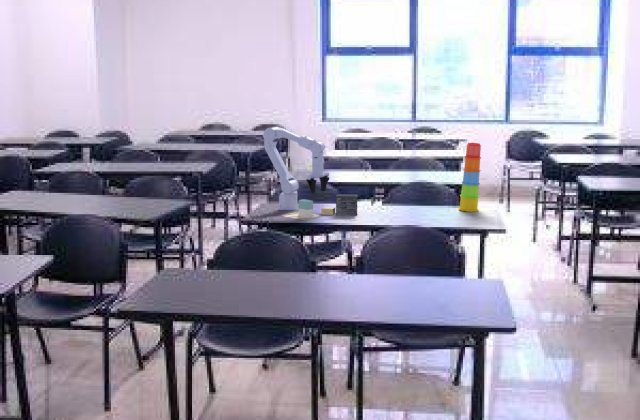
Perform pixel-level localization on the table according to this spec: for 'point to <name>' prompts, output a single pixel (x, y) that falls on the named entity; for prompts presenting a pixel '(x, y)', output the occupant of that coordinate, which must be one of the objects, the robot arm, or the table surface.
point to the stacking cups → (471, 179)
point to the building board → (296, 216)
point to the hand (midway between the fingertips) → (318, 191)
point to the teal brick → (305, 204)
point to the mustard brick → (328, 211)
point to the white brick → (305, 213)
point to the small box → (346, 204)
